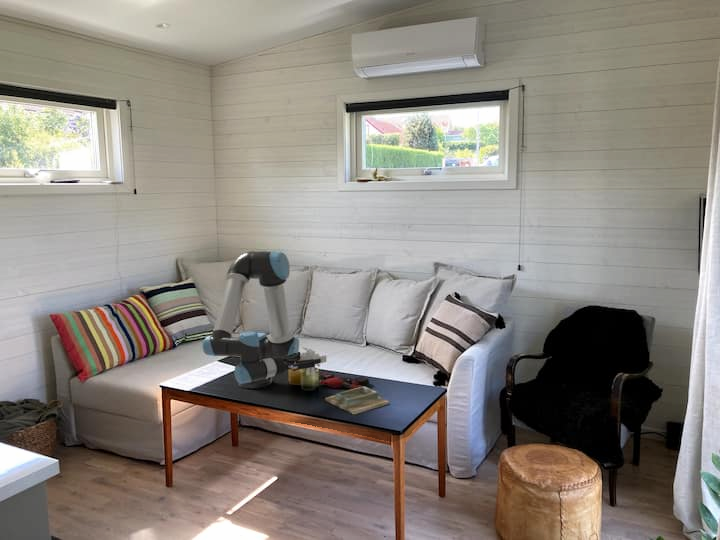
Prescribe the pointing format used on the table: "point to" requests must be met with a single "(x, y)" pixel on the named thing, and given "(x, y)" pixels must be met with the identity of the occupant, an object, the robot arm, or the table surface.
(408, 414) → the table surface
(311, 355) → the hat wearing toy figure
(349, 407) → the jig board
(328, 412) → the table surface
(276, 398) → the table surface
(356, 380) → the toy motorcycle
